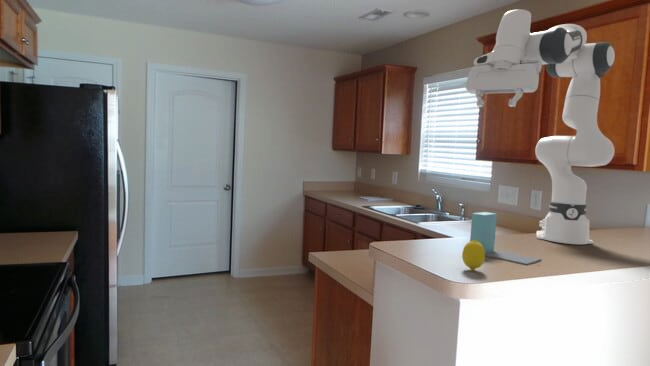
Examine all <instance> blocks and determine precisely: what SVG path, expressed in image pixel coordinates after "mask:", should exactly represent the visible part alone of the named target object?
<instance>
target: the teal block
mask: <svg viewBox="0 0 650 366" xmlns="http://www.w3.org/2000/svg"><path fill="white" fill-rule="evenodd" d="M497 218H498V213H495V212H488V211H482V212H473V213H471V224H470V225H471V227H470V236H469V237H470V238H469V242H471V241H473V240H476V241H477V242H479V243H480V244H481V245H482V246H483V247H484V250H485V253H489V252H494V251H495V243H496V232H497V231H496V230H497V220H498V219H497Z"/></svg>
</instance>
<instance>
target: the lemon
mask: <svg viewBox="0 0 650 366" xmlns="http://www.w3.org/2000/svg"><path fill="white" fill-rule="evenodd" d="M461 256H462V261H463V263H464V265H465V266H466V267H468V268H469V269H470V271H476V269H479V268H480V267H482V265H483V264H484V262H485V261H486V260H485V259H486V256H485V250H484V247H483V246H482V245H481V244H480V243H479V242H477V241H476V240H473V241H471V242H470V241H469V242H467V243H466V244H465V245H464V247H463V249H462V255H461Z"/></svg>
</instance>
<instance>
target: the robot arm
mask: <svg viewBox="0 0 650 366" xmlns="http://www.w3.org/2000/svg"><path fill="white" fill-rule="evenodd" d="M531 22H532V13H531V12H530V11H529V10H527V9H522V8H521V9H519V8H518V9H512V10H508V11H507V12H505V13H504V14H503V15H502V17H501V20H500V22H499V26H498V29H497V32H496V34H495V35H496V36H495V44H494V47H493V48H492V51H490V52H488V53H486V54H484V55H482V56H478V57H477V58H474V60H473V67H472V68H471V69H470V71H469V73H468V76H467V79H466V82H465V90H467V91H468V93H470V94H472V95H475V97H476V99H477V100H476V106H477V107H478V108H483V107H484V106H485V105H484V104H485V100H484V99H482V97H483V95H484V94H485V95H487V94H514V96H513V97H512V98H509V100H508V103H507V104H508V107H511V108H512V107H513V108H515V107H516V106H517V102H519V100H520V99H521V98H522V97H523V94H525V93H526V94H527V93H535V92H536V91H537V90H538V87H539V81H540V73H541V72H542V68H543V66H544V65H545V70H546V72H547V74H548V75H549V76H550V77H551V78H554V79H560V78H561V79H562V78H571V80H570V82H569V85H568V87H567V91H566V95H565V99H564V106H563V110H562V115H561V117H562V121H563V123H564V124H565V125H566V126H568V127H569V128H572V129H574V130H576V134H575V135H551V136H546V137H542V138H540V139H539V140H538V142H537V143H536V146H535V151H534V152H535V157H536V159H537V160H538V162H539V163H541V164H542V165H543V166H544V167H545V168H546V169H547V171H548V172H549V174H550V175H549V176H550V177H551V200H550V202H549V205H548V213H547V214H546V216H545V218H543V219H542V220H539V223H538V224H539V225H538V226H539V227H540V228H541V230H536V232H535V233H536V239H540V240H545V241H549V242H555V243H561V244H569V245H587V244H588V245H589V244H590V245H592V244H594V241H593V240H592V239H590V220H589V219H588V218H587V217H586V214H587V210H588V209H587V204H586V201H587V193H588V192H587V190H588V185H587V183H586V181H585V180H584V179H583V178H582V177H580V176H578V175H576V174H574V172H573V171H572V167H589V168H591V167H592V168H593V167H601V166H606V165H608V164H609V163H610V162H611V161H612V159H613V158H614V156H615V145H614V144H613V142H612V141H611V140H610V139H609V138H608V137H607V136H606V135H604V133H603V132H601V130H600V128H599V125H598V112H599V106H600V98H601V79H602V78H603V77H604V76H605V75H606V73H609V71H610V69H611V68H612V67H613V65H614V63H615V57H616V56H615V54H616V53H615V49H614V47H613V45H612V44H611V43H610V42H607V41H597V42H592V43H591V42H590V43H587V40H588V39H587V37H588V34H587V31H586V29H585V28H584V27H582V26H581V25H578V24H575V23H565V24H563V23H562V24H558V25H555V26H553V27H551V28H549V29H548V30H543V31H538V32H537V31H536V32H532V33H531V25H532V23H531Z"/></svg>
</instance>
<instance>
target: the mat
mask: <svg viewBox="0 0 650 366" xmlns="http://www.w3.org/2000/svg"><path fill="white" fill-rule="evenodd" d="M485 257H489V258H492V259H498V260H500V261H501V260H503V261H505V262H510V263H515V264H520V265H525V266H529V265H532V264H534V263H537V262H541V261H542V258H537V257H533V256H528V255H522V254H519V253H513V252H509V251H504V250H494V252H489V253H485Z"/></svg>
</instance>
